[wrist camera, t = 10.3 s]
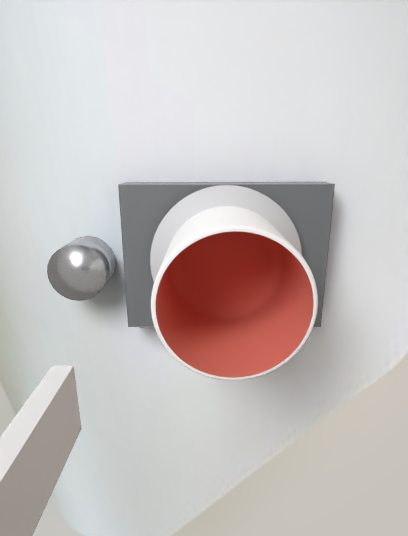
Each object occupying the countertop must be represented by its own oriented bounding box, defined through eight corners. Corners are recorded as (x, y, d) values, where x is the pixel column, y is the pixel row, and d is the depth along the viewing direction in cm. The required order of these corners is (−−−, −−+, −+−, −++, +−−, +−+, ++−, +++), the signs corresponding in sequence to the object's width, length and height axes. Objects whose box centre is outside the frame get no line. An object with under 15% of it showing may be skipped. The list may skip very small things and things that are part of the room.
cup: (308, 252, 31) (354, 295, 21) (233, 336, 33) (245, 408, 24) (216, 178, 29) (221, 188, 20) (144, 272, 32) (117, 322, 22)
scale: (125, 182, 33) (115, 185, 29) (323, 181, 33) (338, 185, 29) (134, 317, 37) (126, 335, 33) (311, 316, 37) (323, 335, 33)
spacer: (61, 236, 35) (43, 246, 31) (113, 235, 35) (102, 245, 31) (67, 285, 36) (51, 300, 33) (117, 285, 36) (107, 300, 32)
